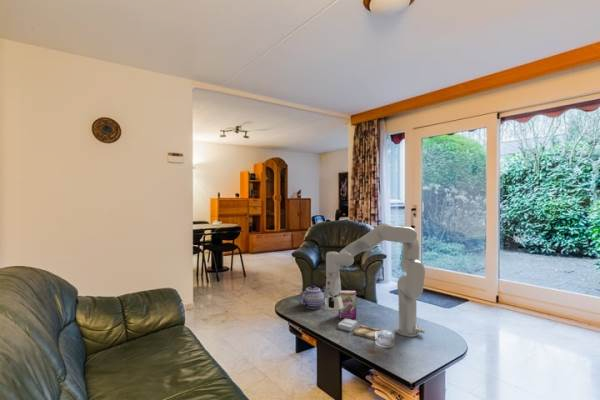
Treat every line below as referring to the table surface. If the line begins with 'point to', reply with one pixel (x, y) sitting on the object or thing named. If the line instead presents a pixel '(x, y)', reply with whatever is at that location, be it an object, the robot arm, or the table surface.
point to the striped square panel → (347, 324)
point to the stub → (335, 303)
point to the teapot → (312, 297)
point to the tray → (365, 331)
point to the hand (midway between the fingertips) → (333, 305)
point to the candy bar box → (348, 304)
